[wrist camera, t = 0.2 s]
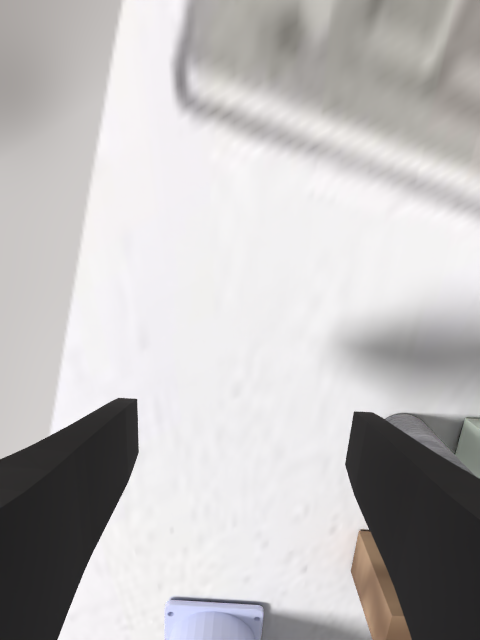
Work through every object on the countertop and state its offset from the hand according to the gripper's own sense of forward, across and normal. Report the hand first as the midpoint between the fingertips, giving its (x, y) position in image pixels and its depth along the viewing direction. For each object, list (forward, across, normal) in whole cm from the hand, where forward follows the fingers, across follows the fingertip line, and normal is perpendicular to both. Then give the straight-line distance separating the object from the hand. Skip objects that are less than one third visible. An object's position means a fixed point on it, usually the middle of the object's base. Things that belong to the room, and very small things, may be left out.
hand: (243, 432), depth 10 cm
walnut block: (+10, -12, +17) cm, 22 cm away
